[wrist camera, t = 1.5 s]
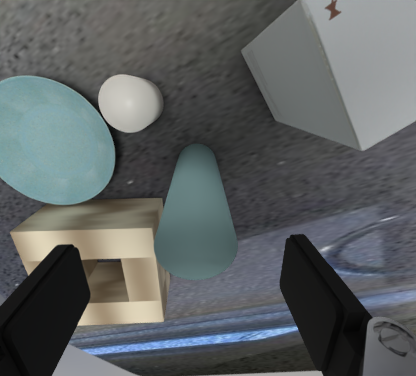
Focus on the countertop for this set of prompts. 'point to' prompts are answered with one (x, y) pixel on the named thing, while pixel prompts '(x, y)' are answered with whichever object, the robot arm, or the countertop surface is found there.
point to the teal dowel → (196, 219)
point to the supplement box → (340, 68)
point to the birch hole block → (105, 254)
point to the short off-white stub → (130, 102)
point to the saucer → (52, 142)
